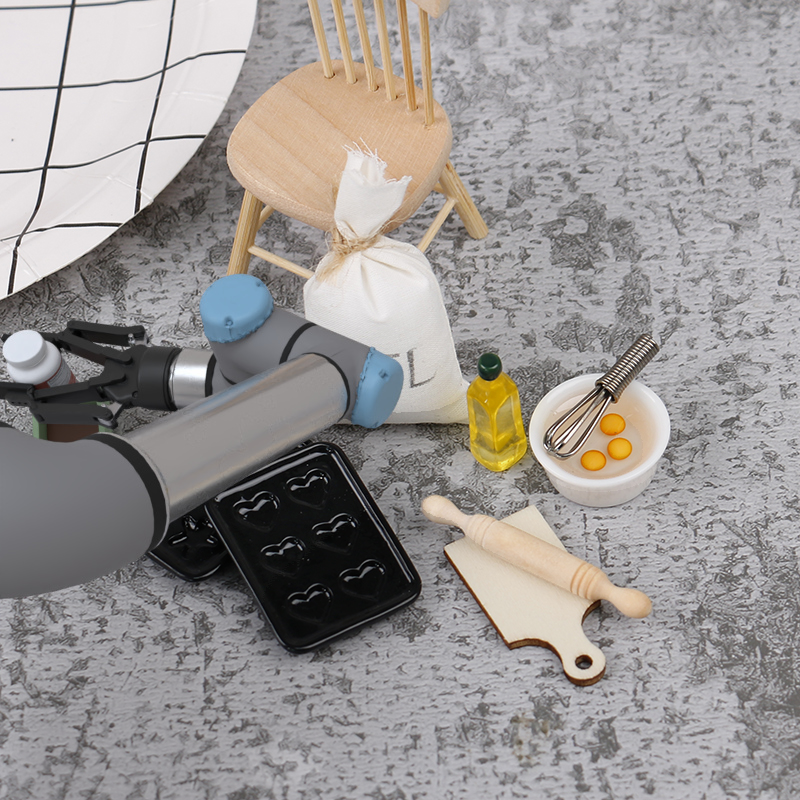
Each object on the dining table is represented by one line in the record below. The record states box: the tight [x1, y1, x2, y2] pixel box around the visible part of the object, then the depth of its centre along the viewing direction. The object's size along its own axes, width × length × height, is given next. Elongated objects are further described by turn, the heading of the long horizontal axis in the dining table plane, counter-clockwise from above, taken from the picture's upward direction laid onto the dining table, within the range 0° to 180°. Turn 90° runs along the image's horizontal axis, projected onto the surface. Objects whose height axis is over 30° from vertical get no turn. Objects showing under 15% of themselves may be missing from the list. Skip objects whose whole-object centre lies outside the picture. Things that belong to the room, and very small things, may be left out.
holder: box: [31, 387, 114, 443], centre depth 122 cm, size 9×9×4 cm
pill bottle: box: [2, 329, 79, 390], centre depth 112 cm, size 6×6×11 cm
